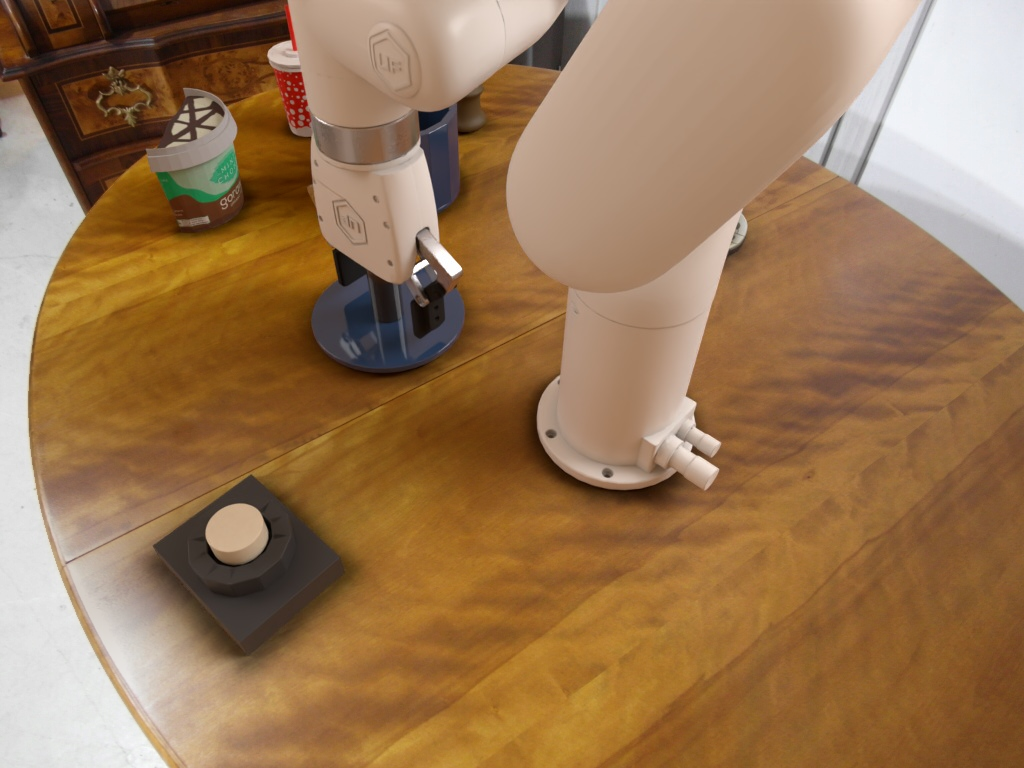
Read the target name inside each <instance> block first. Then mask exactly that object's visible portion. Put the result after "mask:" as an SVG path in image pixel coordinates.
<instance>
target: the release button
mask: <svg viewBox="0 0 1024 768" xmlns="http://www.w3.org/2000/svg"><path fill="white" fill-rule="evenodd" d="M268 538H269V533H268V529H267V527H266V524H265V522H264V520H263V517H262V515H261V513H260V512H259V511H258V510H257V509H256V508H255V507H253V506H251V505H248V504H233V505H229V506H226V507H224V508H222V509H221V510H219V511H218V512H217V513H215V514H214V515H213V516H212V518H211V519H210V520H209V522H208V524H207V527H206V539H207V542H208V544H209V545H210V547H211V549H212V551H213V553H214V555H215V556H216V558H217V559H218V560H220V561H221V562H223V563H225V564H229V565H241V564H245V563H248V562H250V561H252V560H254V559H255V558H256V557H258V556H259V555H260V554H261V553H262V552H263V550H264V549H265V547H266V545H267V543H268Z"/></svg>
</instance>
